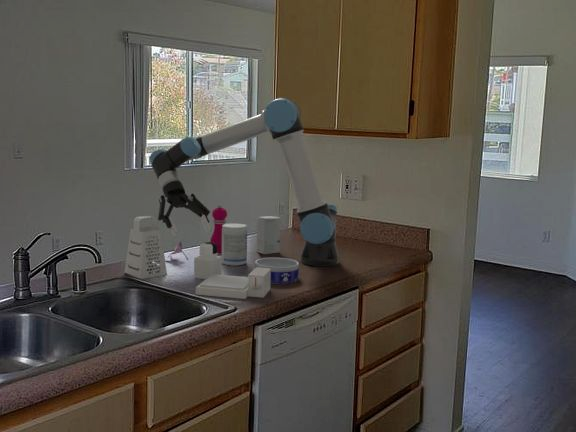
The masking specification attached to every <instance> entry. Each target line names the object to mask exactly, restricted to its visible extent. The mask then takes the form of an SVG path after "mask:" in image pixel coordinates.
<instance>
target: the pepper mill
mask: <svg viewBox="0 0 576 432" xmlns="http://www.w3.org/2000/svg"><path fill="white" fill-rule="evenodd" d="M211 213H212V214H211V216H212V218H213V223H212V224H214V229H213V233H212V235H211V237H210V241H209V242H212V243H215V244H217V255H218V254H219V255H222V225H224V224H227V222H226V221H227V220H226V218H227V217H228V211H227V210H226V208H224V207H223V205H222V204H221V203H218V204H217V207H215V208H214V209H213V210H212V212H211Z"/></svg>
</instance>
